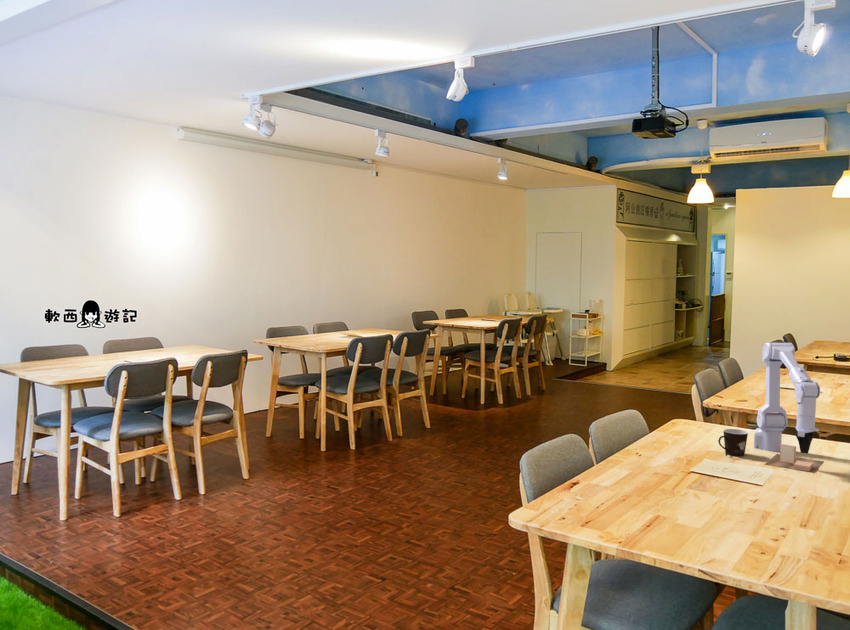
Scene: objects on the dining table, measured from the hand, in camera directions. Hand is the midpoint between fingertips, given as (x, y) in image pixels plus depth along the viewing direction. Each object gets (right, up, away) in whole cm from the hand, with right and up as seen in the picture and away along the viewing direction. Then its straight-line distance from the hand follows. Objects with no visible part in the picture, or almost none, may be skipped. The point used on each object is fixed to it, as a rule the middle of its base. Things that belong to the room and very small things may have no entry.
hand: (804, 452), depth 243 cm
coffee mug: (-18, -6, +19) cm, 27 cm away
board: (0, -6, +7) cm, 9 cm away
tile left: (-2, -5, +7) cm, 9 cm away
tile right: (+2, -4, +2) cm, 5 cm away
